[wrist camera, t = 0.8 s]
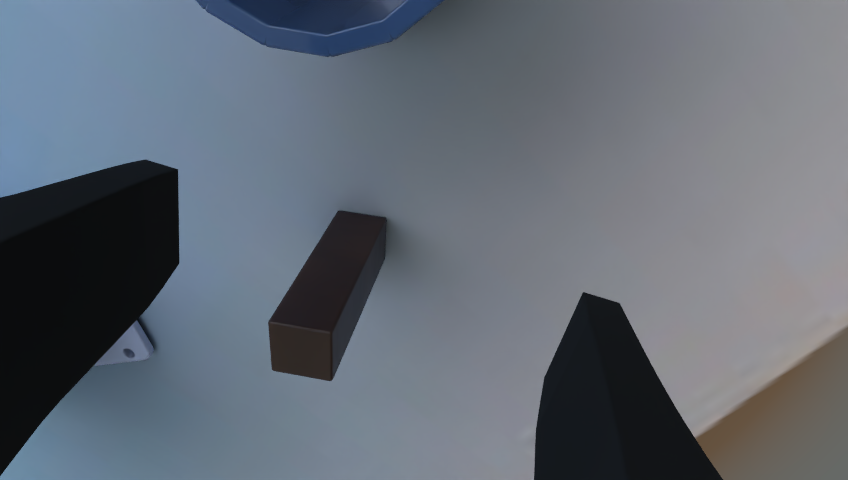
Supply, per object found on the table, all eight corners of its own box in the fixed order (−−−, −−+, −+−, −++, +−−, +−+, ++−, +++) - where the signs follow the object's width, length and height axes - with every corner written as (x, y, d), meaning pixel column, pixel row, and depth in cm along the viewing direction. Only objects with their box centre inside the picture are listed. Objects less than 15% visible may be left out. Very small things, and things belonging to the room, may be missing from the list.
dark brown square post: (337, 252, 23) (270, 371, 18) (337, 209, 22) (266, 321, 17) (385, 259, 23) (332, 382, 18) (387, 216, 22) (331, 332, 17)
